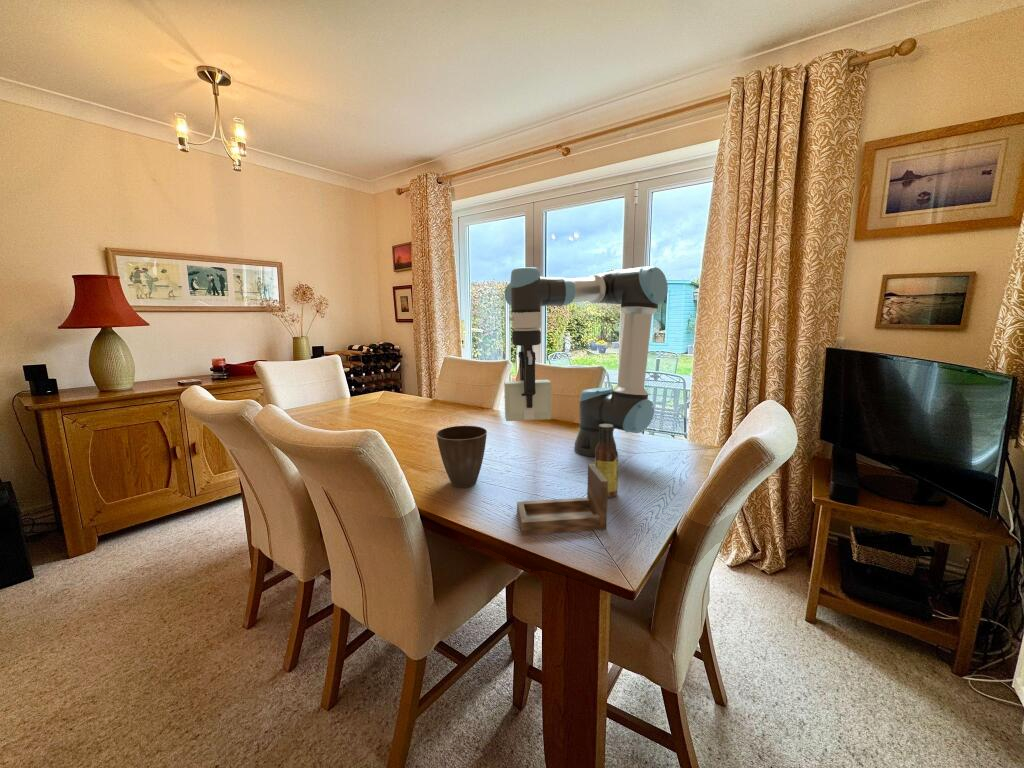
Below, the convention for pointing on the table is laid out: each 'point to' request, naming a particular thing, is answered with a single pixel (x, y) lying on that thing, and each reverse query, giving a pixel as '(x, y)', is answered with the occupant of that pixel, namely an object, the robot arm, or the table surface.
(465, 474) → the plant pot
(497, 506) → the table surface
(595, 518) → the wooden l-shaped stand
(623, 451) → the table surface
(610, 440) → the sauce bottle
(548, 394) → the cream rectangular block
